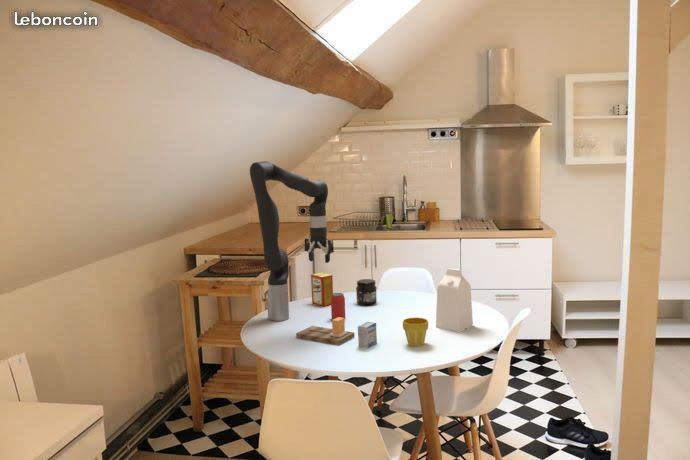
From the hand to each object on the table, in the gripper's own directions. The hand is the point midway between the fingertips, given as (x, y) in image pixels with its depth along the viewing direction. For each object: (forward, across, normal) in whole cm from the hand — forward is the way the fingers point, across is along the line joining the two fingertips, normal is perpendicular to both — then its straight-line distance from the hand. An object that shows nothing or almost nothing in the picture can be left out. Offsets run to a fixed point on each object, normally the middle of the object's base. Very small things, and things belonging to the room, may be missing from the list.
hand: (319, 261), depth 272 cm
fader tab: (+28, +17, -12) cm, 35 cm away
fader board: (+30, +10, -12) cm, 34 cm away
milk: (+30, +53, +27) cm, 67 cm away
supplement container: (+30, -2, +44) cm, 53 cm away
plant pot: (+30, +48, -2) cm, 57 cm away
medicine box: (+30, +31, -12) cm, 45 cm away
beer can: (+30, 0, +14) cm, 33 cm away
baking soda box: (+30, -22, +33) cm, 50 cm away
